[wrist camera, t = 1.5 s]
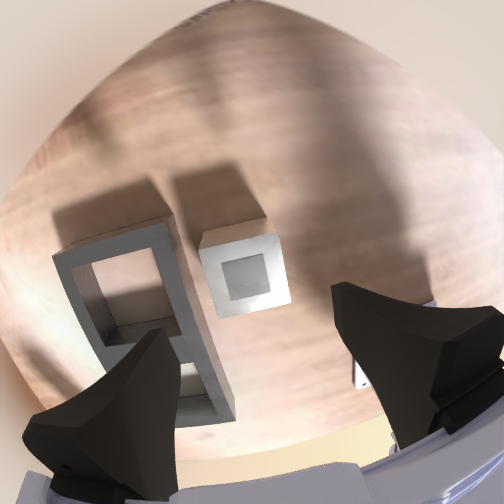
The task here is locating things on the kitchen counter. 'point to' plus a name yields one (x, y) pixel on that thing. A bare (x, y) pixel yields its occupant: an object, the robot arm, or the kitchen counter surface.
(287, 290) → the gray block
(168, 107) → the kitchen counter surface
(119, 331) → the grey rectangular tray
